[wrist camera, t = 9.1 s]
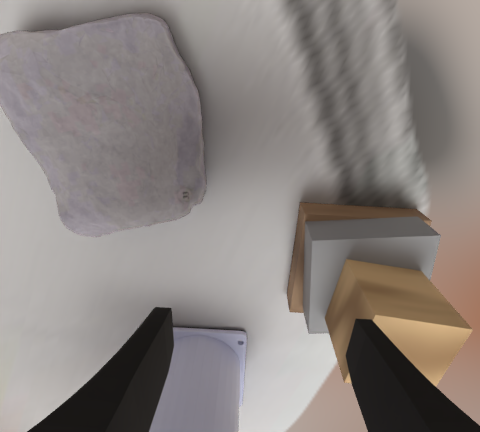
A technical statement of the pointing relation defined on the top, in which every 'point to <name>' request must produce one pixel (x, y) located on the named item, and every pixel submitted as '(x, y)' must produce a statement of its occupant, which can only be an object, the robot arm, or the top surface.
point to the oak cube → (396, 315)
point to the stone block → (107, 120)
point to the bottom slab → (325, 214)
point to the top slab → (359, 255)
